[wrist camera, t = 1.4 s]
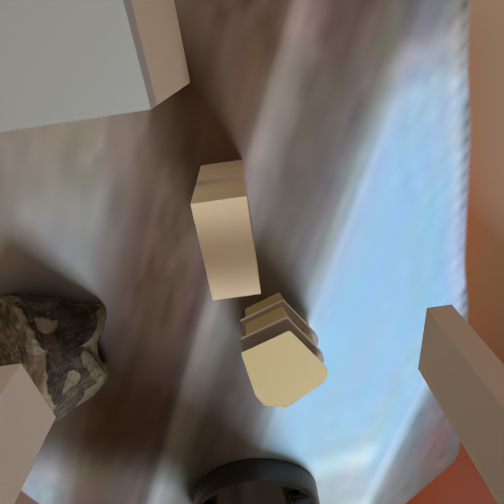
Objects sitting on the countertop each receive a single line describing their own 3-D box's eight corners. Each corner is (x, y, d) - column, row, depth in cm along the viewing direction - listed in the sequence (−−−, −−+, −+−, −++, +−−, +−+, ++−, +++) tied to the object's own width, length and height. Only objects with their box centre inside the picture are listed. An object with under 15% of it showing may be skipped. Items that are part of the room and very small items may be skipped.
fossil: (-43, 276, 26) (-61, 369, 19) (92, 255, 31) (120, 322, 23) (-8, 383, 31) (-11, 490, 24) (104, 351, 36) (130, 432, 28)
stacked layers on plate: (200, 307, 30) (194, 355, 25) (295, 258, 28) (308, 301, 23) (259, 377, 34) (263, 429, 29) (344, 339, 32) (363, 389, 28)
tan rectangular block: (253, 238, 26) (261, 293, 20) (217, 243, 27) (212, 300, 20) (242, 159, 24) (246, 196, 17) (200, 165, 24) (190, 204, 18)
